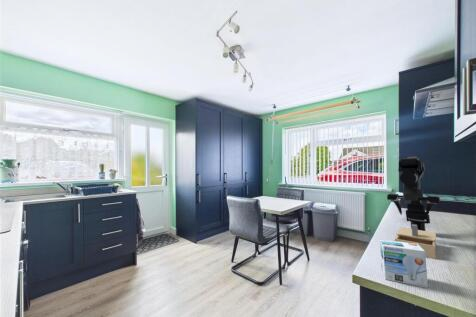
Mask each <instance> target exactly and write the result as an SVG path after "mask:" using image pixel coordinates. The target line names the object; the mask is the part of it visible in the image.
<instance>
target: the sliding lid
mask: <svg viewBox="0 0 476 317" xmlns="http://www.w3.org/2000/svg"><path fill="white" fill-rule="evenodd" d="M397 235H401V236H407V237H413V238H419V239H424V240H430V241H437V232H436V231H435V232H433V231H428V230H426V231H422V230H418V229H417V225H415V224H412V229H411V228H407V227H400V228H399V229H398V231H397V232H396V236H397Z"/></svg>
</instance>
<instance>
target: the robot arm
mask: <svg viewBox="0 0 476 317" xmlns="http://www.w3.org/2000/svg"><path fill="white" fill-rule="evenodd" d="M397 171H398V173H402V174H400V176H399V179H400V182H401V183H402V185H403V186H402V187H403V190H402V195H399V193H392V192H391V193H388V194H387V196H386V198H387V201H390V202H392V203H394V205H395V206H396V208H397V210H398V212H399V215H400V216H402V215H403V210H402V206H401V200H405V201H410V202H409V203H408V204H407V206H406V208H407V209H405V217H406V222H410V229H412V224H415V225H417V229H418V230H422V231H427V230H426V225H427V224H428V225H429V224H431V219H430V211H431V209H432V207H433V206H436V205H437V204H440V203H441V198H440V196H439V195H429V194H428V195H427V196H424V191H423V189H421V179H422V178H423V177H424V173H425V172H426V170H425V163H424V161H422V160H421V159H420V158H419V156H417V155H413V156H412V155H411V156H410V155H409V156H406V158H405V157H404V158H400V160H399V161H398V170H397ZM422 201H423V202H425V201H427V202H426V208H425V206H424V204H422Z"/></svg>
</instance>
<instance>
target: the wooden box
mask: <svg viewBox="0 0 476 317" xmlns="http://www.w3.org/2000/svg"><path fill="white" fill-rule="evenodd" d="M394 241H397V242H406V243H415V244H418V245H419V246H420V247H421V248H422V249H423V250H424V251H425V254H426V258H429V259H434V260H436V259H437V242H436V241H437V240H436V241H430V240H424V239H419V238H413V237H407V236H401V235H397V234H396V237H395V240H394Z"/></svg>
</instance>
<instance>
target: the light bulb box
mask: <svg viewBox="0 0 476 317" xmlns="http://www.w3.org/2000/svg"><path fill="white" fill-rule="evenodd" d="M379 246H380V247H379V248H380V261H381V262H380V264H381V272H382V274H383V277H384V279H385V280H386V281H392V282H398V283H402V284H407V285H411V286H416V287H422V288H426V289H428V288H429V286H428V284H429V283H428V272H427V271H428V269H427V259H426V258H427V257H426V254H425V251H424V250H423V249H422V248H421V247H420V246H419V245H418V244H415V243H406V242H397V241H395V240H387V239H379Z"/></svg>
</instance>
